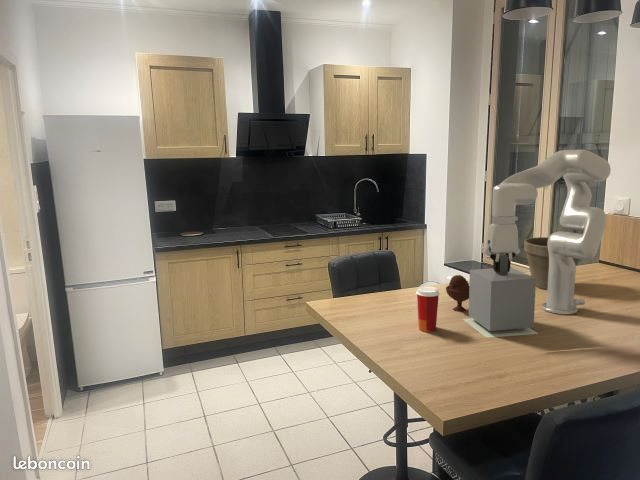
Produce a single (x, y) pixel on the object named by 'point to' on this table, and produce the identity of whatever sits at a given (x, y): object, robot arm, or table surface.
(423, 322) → the coffee cup
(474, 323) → the mat
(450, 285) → the ice cream bowl
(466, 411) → the table surface
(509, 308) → the grey knobbed cube
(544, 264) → the plant pot
